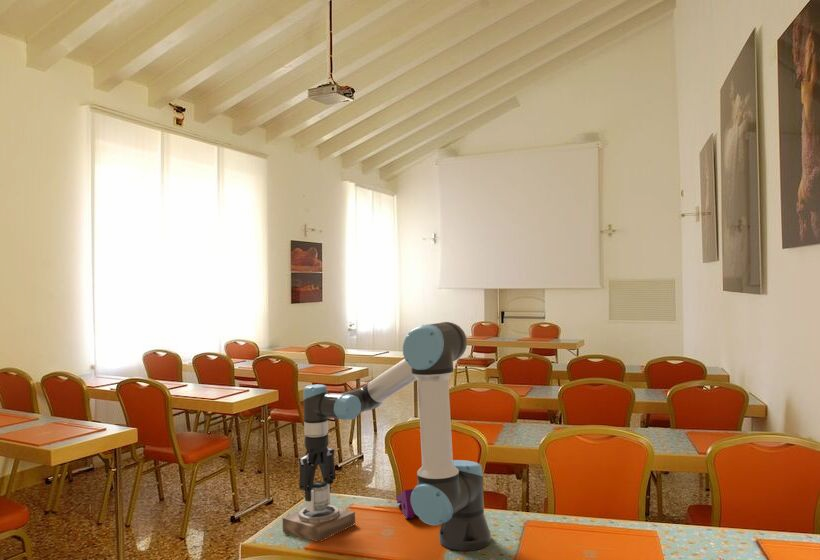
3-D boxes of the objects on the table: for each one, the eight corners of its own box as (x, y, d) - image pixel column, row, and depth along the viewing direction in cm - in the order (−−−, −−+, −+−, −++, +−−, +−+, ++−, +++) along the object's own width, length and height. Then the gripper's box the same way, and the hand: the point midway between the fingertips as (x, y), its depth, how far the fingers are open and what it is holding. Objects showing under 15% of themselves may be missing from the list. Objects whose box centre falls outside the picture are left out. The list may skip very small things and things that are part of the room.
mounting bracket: (397, 523, 216) (408, 517, 200) (393, 498, 219) (404, 490, 204) (423, 520, 218) (436, 513, 203) (419, 494, 222) (432, 486, 206)
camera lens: (311, 504, 203) (311, 479, 203) (330, 504, 202) (330, 480, 202) (305, 511, 196) (305, 486, 196) (325, 512, 196) (324, 486, 196)
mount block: (355, 524, 201) (354, 508, 201) (319, 542, 188) (318, 524, 188) (319, 514, 210) (318, 499, 210) (282, 530, 197) (282, 514, 197)
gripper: (329, 426, 209) (331, 496, 209) (285, 439, 194) (287, 514, 194) (345, 429, 205) (347, 500, 205) (302, 442, 189) (304, 519, 189)
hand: (318, 507), depth 199 cm, fingers closed on camera lens, 6 cm apart
